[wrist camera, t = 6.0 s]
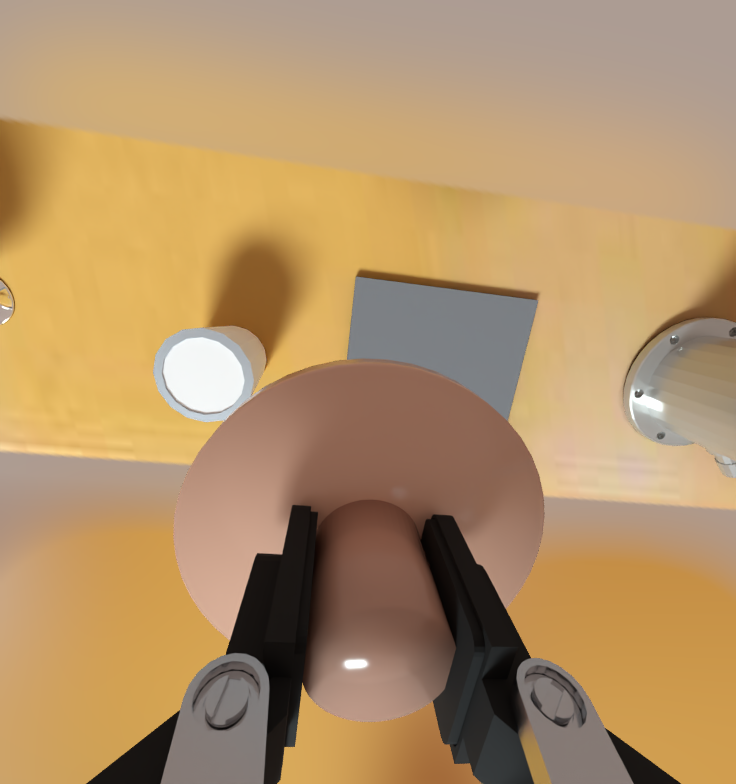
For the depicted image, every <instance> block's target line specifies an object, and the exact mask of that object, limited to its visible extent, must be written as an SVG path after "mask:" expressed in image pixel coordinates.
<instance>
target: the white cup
mask: <svg viewBox="0 0 736 784" xmlns="http://www.w3.org/2000/svg"><path fill="white" fill-rule="evenodd" d="M266 361H267V359H266V354H265V348H264V347H263V345H262V343H261V342H260V340H259V339H258V337H257V336H255V335H254V334H253V333H251V332H250V331H249V330H247V329H245V328H241V327H238V326H220V327H206V328H195V329H185V330H181V331H179V332H178V333H176V334H174V335H172V336H171V337H169V338H167V339H166V340H165V341H164V343H163V344H162V346H161V347H160V349H159V350H158V352H157V353H156V356H155V363H154V370H153V374H154V377H155V381H156V384H157V388H158V391H159V392H160V394H161V395H162V396H163V398H164V399H165V400H166V402H167V403H168V404H169V405H170V407H172V408H173V409H175V410H176V411H178V412H179V413H181V414H182V415H184V416H186V417H187V418H191V419H195V420H199V421H203V422H212V421H221V420H225V419H226V418H227V417H228V416H229V415H230V414H231V413H232V412H233V411H234V410H235V409H236V408H238V407H239V406H240V405H241V404H242V403H243V402H244V401H245V400H247V399H248V398H249V397H251V396H252V394H253V392H254V390H255V388H256V386H257V384H258V382H259V380H260V378H261V376H262V375H263V373H264V370H265V365H266Z"/></svg>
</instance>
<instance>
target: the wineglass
mask: <svg viewBox="0 0 736 784" xmlns="http://www.w3.org/2000/svg"><path fill="white" fill-rule="evenodd" d="M13 312H14V300H13V297H12V294H11V292H10V290H9V289H8V287H7V286H6V285H5V284H4V283H3V282H2V281H1V280H0V325H2V324H4V323H6V322H7V321H8V320H9V319H10V318H11V317H12V315H13Z"/></svg>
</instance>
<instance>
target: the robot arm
mask: <svg viewBox="0 0 736 784" xmlns="http://www.w3.org/2000/svg"><path fill="white" fill-rule="evenodd" d="M623 402H624V409H625V413H626V415H627V418H628V420H629V422H630V423H631V425H632V426H633V428H634V429H635V430H636V431H638V432H639V433H640V434H641V435H643V436H645V437H646V438H648V439H650V440H652V441H654V442H657V443H660V444H662V445H669V446H685V445H690V444H694V443H696V444H698V445H700V446H702V447H704V448H705V449H706V451H707V452H708V453H710V454H711V455H714V456H715V461H716V463H717V465H718V467H719V469H720V471H721V473H722V474H723V475H725V476H727V477H732V478H736V322H733V321H729V320H726V319H719V318H695V319H691V320H686V321H683V322H681V323H678V324H676V325H673V326H671V327H670V328H668V329H666V330H665V331H663V332H662V333H660V334H659V335H658V336H656V337H655V338H654V339H653V340H652V341H650V342H649V343H648V344H647V346H646V347H645V348H644V349H643V350H642V351H641V352H640V354H639V355H638V357H637V358H636V360H635V361H634V363H633V364H632V366H631V369H630V371H629V373H628V376H627V378H626V383H625V387H624V396H623ZM317 519H318V512H314V511H311V506H303V505H292V508H291V513H290V518H289V523H288V528H287V533H286V538H285V542H284V547H283V552H282V554H266V553H257V554H256V556H255V559H254V562H253V566H252V569H251V572H250V576H249V579H248V582H247V585H246V589H245V592H244V595H243V599H242V602H241V605H240V609H239V612H238V615H237V619H236V622H235V625H234V629H233V632H232V635H231V638H230V642H229V645H228V648H227V652H226V655H224V656H221V657H219V658H217V659H216V660H213V661H211V662H210V663H208V664H207V665H206V666H205V667H204V668H203V669H201V670H200V671H199V672H198V673H197V675H196V676H195V677H194V679H193V680H192V681H191V683H190V684H189V686H188V689H187V691H186V694H185V696H184V698H183V702H182V705H181V709H180V711H178V712H177V713H176V714H174V715H173V716H172V717H170V718H169V719H168V720H167V721H165V722H164V723H163V724H162V725H160V726H159V727H158V728H156V729H155V730H154V731H153V732H151V733H150V734H149V735H148V736H146V737H145V738H144V739H142V740H141V741H140V742H139V743H138V744H136V745H135V746H134V747H132V748H131V749H130V750H129V751H127V752H126V753H125V754H124V755H122V756H121V757H120V758H118V759H117V760H116V761H115V762H113V763H112V764H111V765H109V766H108V767H107V768H106V769H104V770H103V771H102V772H101V773H99V774H98V775H97V776H96V777H94V778H93V779H92V780H91V781H89V782H88V783H87V784H277V783H278V782H279V780H280V778H281V770H282V764H283V755H284V747H295V740H296V732H297V724H298V715H299V707H300V697H301V690H302V681H303V673H304V664H305V655H306V646H307V636H308V625H309V614H310V602H311V590H312V578H313V566H314V555H315V543H316V531H317ZM421 541H422V544H423V547H424V550H425V553H426V557H427V560H428V563H429V566H430V569H431V572H432V575H433V578H434V581H435V584H436V587H437V590H438V593H439V596H440V599H441V602H442V605H443V608H444V612H445V615H446V618H447V621H448V624H449V627H450V630H451V633H452V636H453V639H454V642H455V645H456V651H455V654H454V658H453V661H452V665H451V668H450V672H449V676H448V679H447V683H446V686H445V690H444V691H443V692H442V693H441V694H440V695H439V696H438V697H437V698H435V699H434V700H433V703H434V708H435V712H436V717H437V721H438V726H439V730H440V734H441V738H442V741H443V743H444V744H450V747H451V751H452V755H453V759H454V763H455V764H465V763H470V765H471V768H472V772H473V775H474V776H475V777H476V778H477V779H478V780H479V781H480V782H481V784H681V783H679V782H678V781H677V780H675V779H674V778H673V777H671V776H670V775H669V774H667V773H666V772H664V771H663V770H662V769H660V768H659V767H658V766H656V765H655V764H653V763H652V762H651V761H650V760H648V759H647V758H645V757H644V756H643V755H641V754H640V753H639V752H637V751H636V750H635V749H633V748H632V747H630V746H629V745H628V744H626V743H625V742H624V741H622V740H621V739H620V738H618V737H617V736H616V735H614V734H613V733H611V732H610V731H609V730H607V729H606V728H605V727H604V725H603V723H602V722H601V720H600V718H599V716H598V714H597V712H596V710H595V708H594V706H593V704H592V702H591V700H590V699H589V697H588V696H587V694H586V692H585V691H584V690H583V688H582V686H581V685H580V684H579V683H578V682H577V681H576V680H575V679H574V678H573V677H572V676H571V675H570V674H569V673H568V672H566V671H565V670H563V669H562V668H561V667H559V666H558V665H556V664H554V663H552V662H550V661H547V660H543V659H540V658H531V657H530V655H529V653H528V651H527V649H526V647H525V646H524V644H523V642H522V640H521V638H520V636H519V634H518V632H517V630H516V628H515V626H514V624H513V622H512V620H511V618H510V616H509V615H508V613H507V611H506V609H505V607H504V605H503V603H502V601H501V599H500V597H499V595H498V593H497V591H496V589H495V587H494V585H493V584H492V582H491V580H490V578H489V576H488V574H487V572H486V570H485V569H484V567H483V566H482V565H480V564H477V563H476V561H475V559H474V557H473V555H472V553H471V551H470V549H469V547H468V545H467V543H466V541H465V539H464V537H463V535H462V533H461V531H460V529H459V527H458V525H457V523H456V521H455V519H454V517H453V516H451V515H437V514H434V515H432V517H431V519H426V521H425V524H424V529H423V533H422V538H421Z"/></svg>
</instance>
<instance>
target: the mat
mask: <svg viewBox="0 0 736 784" xmlns="http://www.w3.org/2000/svg"><path fill="white" fill-rule="evenodd" d="M537 304H538V300H531V299H524V298H516V297H508V296H501V295H493V294H485V293H478V292H470V291H462V290H455V289H447V288H439V287H432V286H424V285H416V284H409V283H401V282H393V281H386V280H378V279H371V278H363V277H356V280H355V290H354V299H353V308H352V318H351V327H350V336H349V346H348V355H347V360H351V359H362V358H364V359H388V360H394V361H399V362H405V363H411V364H415V365H418V366H421V367H424V368H427V369H431V370H434V371H436V372H439V373H441V374H443V375H445V376H447V377H449V378H451V379H453V380H455V381H457V382H459V383H460V384H462V385H463V386H465V387H466V388H468V389H469V390H471V391H472V392H474V393H475V394H477V395H478V396H479V397H480V398H482V399H483V400H484V401H485V402H487V403H488V404H489V405H490V406H491V407H493V408H494V409H495V410H496V411H497V412H498V413H499V414H500V415H501V416H503V417H504V418H505V419H506V420H507V421H508V417H509V413H510V410H511V406H512V402H513V398H514V394H515V390H516V386H517V382H518V378H519V374H520V370H521V366H522V363H523V359H524V355H525V351H526V347H527V343H528V339H529V335H530V331H531V327H532V323H533V319H534V316H535V312H536V308H537Z"/></svg>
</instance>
